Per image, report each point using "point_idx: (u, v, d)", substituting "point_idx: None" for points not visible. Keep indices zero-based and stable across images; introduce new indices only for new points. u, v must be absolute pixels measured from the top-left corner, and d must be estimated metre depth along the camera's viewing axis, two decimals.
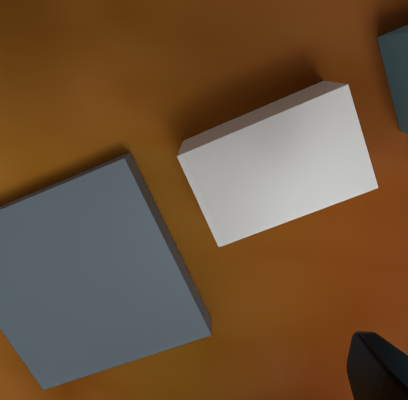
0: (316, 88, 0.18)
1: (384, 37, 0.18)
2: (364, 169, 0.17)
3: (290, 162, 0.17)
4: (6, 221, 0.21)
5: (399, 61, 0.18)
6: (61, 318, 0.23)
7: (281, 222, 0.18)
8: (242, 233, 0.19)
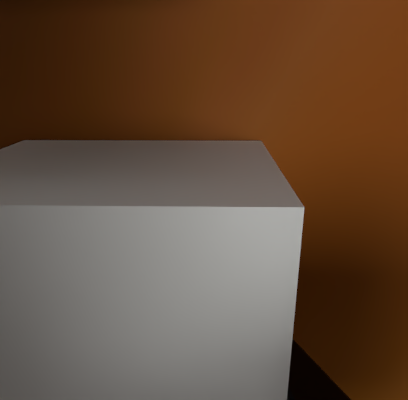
0: None
1: None
2: (204, 235, 0.04)
3: None
4: None
5: None
6: None
7: None
8: None
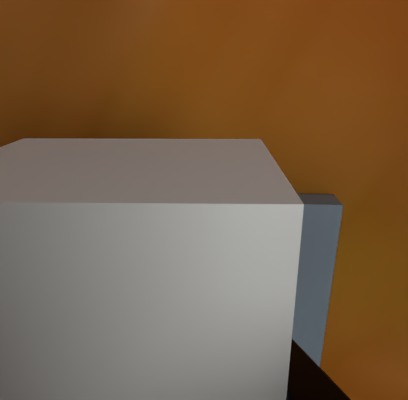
0: None
1: None
2: (203, 233, 0.04)
3: None
4: None
5: None
6: None
7: None
8: None
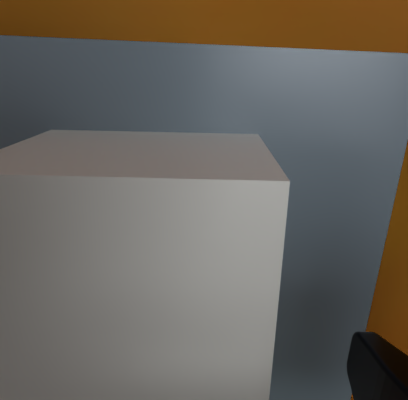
0: None
1: None
2: (211, 202, 0.05)
3: (111, 364, 0.06)
4: None
5: None
6: None
7: None
8: None
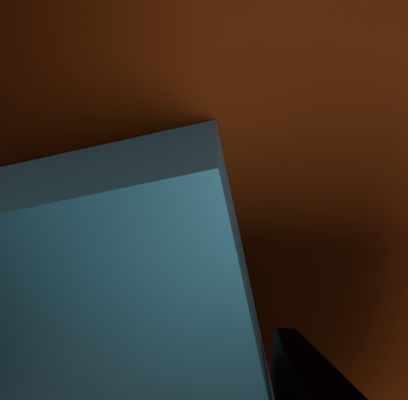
0: None
1: None
2: None
3: None
4: None
5: None
6: None
7: None
8: None
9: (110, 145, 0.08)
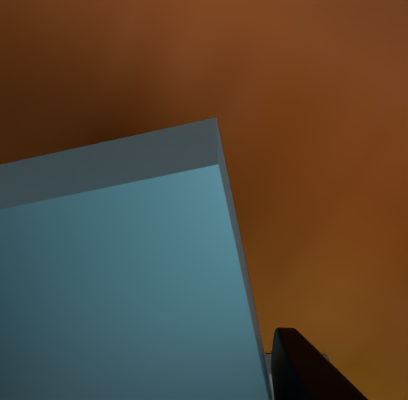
0: None
1: None
2: None
3: None
4: None
5: None
6: None
7: None
8: None
9: (110, 143, 0.08)
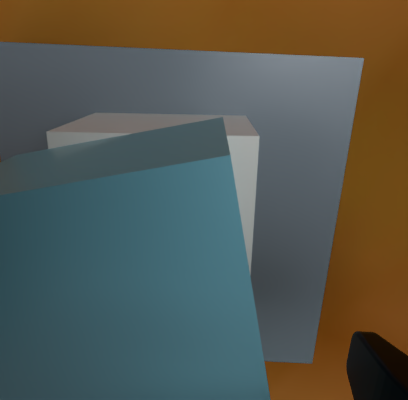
0: None
1: None
2: None
3: None
4: None
5: None
6: None
7: None
8: None
9: (127, 136, 0.08)
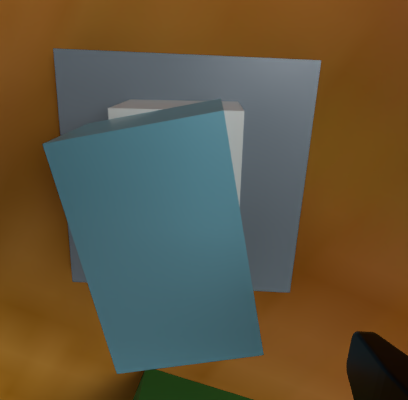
0: None
1: None
2: None
3: None
4: None
5: None
6: None
7: None
8: None
9: (161, 110, 0.13)
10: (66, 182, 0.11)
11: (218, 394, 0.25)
